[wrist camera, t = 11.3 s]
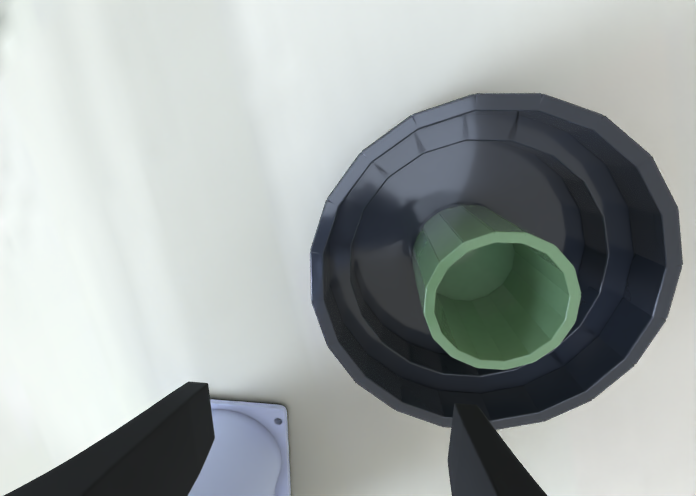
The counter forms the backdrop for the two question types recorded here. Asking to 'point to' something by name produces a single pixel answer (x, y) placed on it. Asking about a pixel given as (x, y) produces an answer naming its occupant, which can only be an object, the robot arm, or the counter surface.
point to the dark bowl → (523, 208)
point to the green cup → (492, 288)
